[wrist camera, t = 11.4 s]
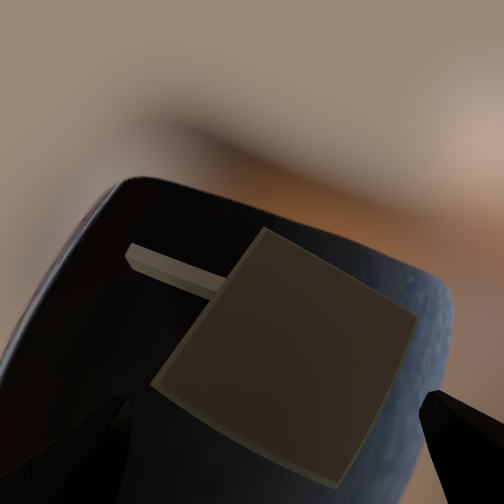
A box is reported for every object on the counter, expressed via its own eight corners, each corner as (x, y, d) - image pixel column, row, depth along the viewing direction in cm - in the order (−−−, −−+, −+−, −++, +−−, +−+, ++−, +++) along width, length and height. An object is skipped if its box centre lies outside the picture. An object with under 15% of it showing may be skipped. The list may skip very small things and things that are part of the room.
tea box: (314, 369, 18) (426, 309, 7) (271, 440, 16) (340, 492, 5) (245, 329, 19) (267, 217, 8) (199, 397, 17) (147, 383, 6)
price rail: (375, 335, 19) (391, 325, 17) (371, 355, 19) (387, 348, 17) (141, 253, 21) (133, 235, 19) (132, 270, 20) (122, 254, 18)
